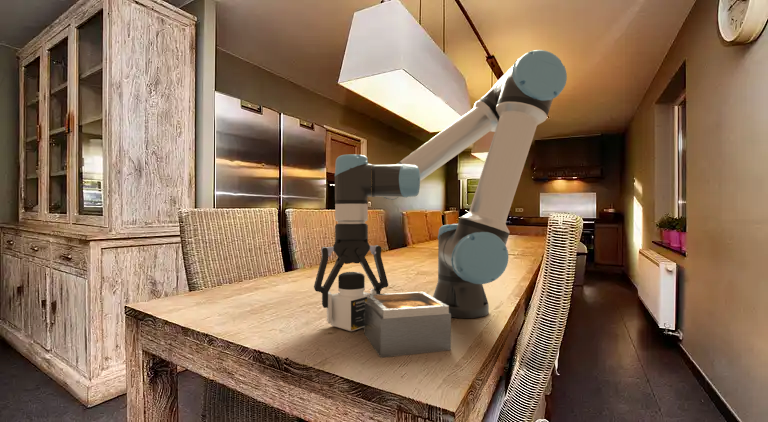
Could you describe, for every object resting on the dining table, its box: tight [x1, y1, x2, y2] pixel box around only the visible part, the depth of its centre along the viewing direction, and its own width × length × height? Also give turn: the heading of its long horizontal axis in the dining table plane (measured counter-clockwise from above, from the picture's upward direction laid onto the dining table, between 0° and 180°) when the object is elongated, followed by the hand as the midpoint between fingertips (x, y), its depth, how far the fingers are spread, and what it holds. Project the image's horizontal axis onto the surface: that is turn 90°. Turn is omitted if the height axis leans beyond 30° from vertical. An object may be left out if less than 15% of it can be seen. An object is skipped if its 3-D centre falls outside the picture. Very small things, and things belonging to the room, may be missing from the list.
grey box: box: [364, 291, 452, 358], centre depth 74 cm, size 14×13×8 cm
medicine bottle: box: [329, 271, 371, 332], centre depth 84 cm, size 7×7×12 cm
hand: (351, 319), depth 84 cm, fingers closed on medicine bottle, 10 cm apart
